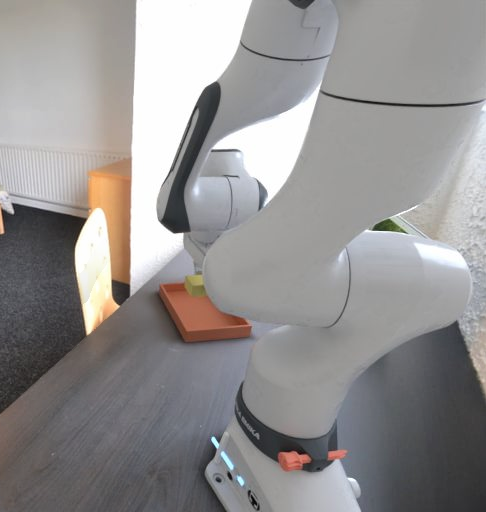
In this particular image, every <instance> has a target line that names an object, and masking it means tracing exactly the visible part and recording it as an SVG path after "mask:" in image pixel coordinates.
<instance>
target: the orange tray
mask: <svg viewBox="0 0 486 512" xmlns="http://www.w3.org/2000/svg"><path fill="white" fill-rule="evenodd" d="M158 295H159V297H160V298H161V301H163V303H164V306H165V307H166V309H167V311H168V313H169V315H170V317H171V318H172V320H173V322H174V325H175V326H176V328H177V329H178V331H179V334H180V335H181V337H182V339H183V340H184V342H185V343H194V342H195V343H196V342H205V341H216V340H218V341H219V340H227V339H228V340H229V339H240V338H250V337H251V333H252V329H253V325H252V324H251V322H250V321H249V320H248V319H244V318H240V317H237V316H233V315H230V314H226V313H223V312H220V311H219V310H218V309H217V308H216V307H215V306H214V304H213V303H212V302H211V300H210V299H209V297H208V296H201V297H191V296H190V294H189V293H188V291H187V290H186V288H185V281H179V282H178V281H177V282H165V283H159V287H158Z"/></svg>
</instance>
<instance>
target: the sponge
mask: <svg viewBox="0 0 486 512" xmlns="http://www.w3.org/2000/svg"><path fill="white" fill-rule="evenodd" d="M184 282H185V288H186V290H187V291H188V293H189V294H190V296H191V297H201V296H208V295H207V293H206V291H205V290H204V284H203V278H202V275H194V274H193V275H192V274H191V275H190V274H189V275H185V279H184Z"/></svg>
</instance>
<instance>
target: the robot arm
mask: <svg viewBox="0 0 486 512" xmlns="http://www.w3.org/2000/svg"><path fill="white" fill-rule="evenodd" d="M318 88H319V89H318ZM317 89H318V93H317V96H316V101H315V103H314V107H313V110H312V114H311V116H310V120H309V123H308V126H307V129H306V132H305V135H304V138H303V141H302V144H301V147H300V148H299V151H298V155H297V157H296V160H295V162H294V165H293V167H292V169H291V172H290V173H289V174H288V176H287V178H286V179H285V181H284V183H283V184H282V186H281V187H280V188H279V189H278V191H277V192H275V194H274V195H273V196H272V198H271V199H270V200H269V193H268V189H266V187H265V186H264V184H263V183H262V182H261V181H260V180H259V179H258V178H256V177H254V176H251V174H250V173H249V172H248V170H247V168H246V167H245V154H244V152H243V150H240V149H237V148H219V149H218V148H214V147H215V146H216V145H218V143H220V141H222V140H224V139H225V138H227V137H228V136H230V135H232V134H234V133H237V132H239V131H242V130H243V129H246V128H249V127H252V126H254V125H255V126H256V125H258V124H261V123H264V122H268V121H272V120H275V119H278V118H280V117H283V116H284V115H286V114H288V113H291V112H292V111H294V110H295V109H297V108H299V107H300V106H301V105H303V104H304V103H305V102H307V101H308V100H309V99H310V98H311V96H312V95H313V94H314V93H315V92H316V90H317ZM485 103H486V0H251V3H250V5H249V8H248V10H247V14H246V18H245V20H244V23H243V27H242V31H241V35H240V39H239V42H238V45H237V48H236V50H235V53H234V55H233V57H232V58H231V60H230V62H229V64H228V65H227V66H226V68H225V69H224V71H223V72H222V73H221V74H220V75H219V77H218V78H217V79H216V80H215V81H213V82H211V83H209V84H208V85H206V86H205V87H204V88H203V90H202V91H201V93H200V95H199V96H198V97H197V101H196V102H195V105H194V107H193V109H192V112H191V114H190V116H189V119H188V122H187V124H186V127H185V129H184V131H183V133H182V136H181V139H180V142H179V145H178V147H177V149H176V152H175V154H174V155H175V156H174V158H173V161H172V163H171V166H170V168H169V171H168V173H167V175H166V177H165V179H164V181H162V184H161V186H160V188H159V192H158V194H157V198H156V203H155V204H156V205H155V209H156V216H157V217H156V218H157V221H158V222H159V223H160V224H161V226H162V227H164V228H165V229H166V230H167V231H169V232H170V233H172V234H174V235H177V234H182V244H183V245H182V246H183V249H184V251H186V253H187V254H188V255H189V256H190V258H191V259H192V263H193V269H194V274H193V275H202V278H203V284H204V290H205V291H206V293H207V295H208V297H209V299H210V300H211V302H212V303H213V304H214V306H215V307H216V308H217V309H218V310H219V311H220V312H223V313H226V314H230V315H233V316H237V317H240V318H244V319H247V320H248V321H253V322H256V323H261V324H271V325H281V326H278V327H275V328H272V329H270V330H268V331H267V332H265V333H264V334H261V336H259V337H258V339H256V341H255V342H254V344H253V345H252V347H251V349H250V351H249V355H248V361H247V364H246V365H247V366H246V370H245V374H244V378H243V380H242V381H241V383H240V385H239V387H238V390H237V391H236V395H235V401H234V414H233V416H232V417H231V420H230V421H229V423H228V425H227V427H226V428H225V430H224V432H223V433H222V437H221V439H220V441H219V442H218V441H217V439H216V437H215V436H212V437H211V443H212V444H213V445H214V446H215V448H216V450H215V454H214V457H213V458H212V460H210V461H209V463H208V464H207V466H206V468H205V470H204V477H205V479H206V480H207V482H208V485H209V486H210V487H211V489H212V490H213V492H214V493H215V496H216V498H218V500H219V502H220V504H221V505H222V506H223V508H224V510H225V511H226V512H362V509H361V507H360V505H359V502H358V500H357V499H359V498H360V497H361V495H362V492H361V491H362V490H361V487H360V484H359V483H358V481H357V480H356V479H355V478H353V477H348V476H347V473H346V471H345V468H344V466H343V464H342V462H341V459H344V458H346V454H347V453H348V450H347V449H339V450H338V448H339V447H338V445H339V444H338V424H337V423H338V420H337V417H338V413H339V412H340V410H341V407H342V405H343V403H344V401H345V399H346V397H347V395H348V393H349V390H350V389H351V387H352V386H353V384H354V383H355V381H356V380H357V379H358V378H359V377H360V376H361V375H362V374H363V373H364V372H365V371H366V370H367V369H368V368H370V367H371V366H372V365H373V364H374V363H376V362H377V361H379V360H380V359H381V358H382V357H384V356H385V355H386V354H388V353H389V352H391V351H393V350H395V349H397V348H398V347H399V346H401V345H403V344H405V343H407V342H409V341H411V340H412V339H413V340H414V339H415V338H417V337H420V336H422V335H425V334H428V333H431V332H434V331H437V330H441V329H444V328H446V327H449V326H451V325H452V324H454V323H455V322H456V321H457V320H459V318H460V317H462V315H463V314H464V313H465V312H466V310H467V308H468V307H469V304H470V302H471V300H472V296H473V290H474V281H473V276H472V272H471V269H470V267H469V265H468V263H467V261H466V260H465V258H464V257H463V255H462V254H461V253H460V252H459V251H458V250H457V249H456V248H454V247H453V246H452V245H450V244H448V243H446V242H443V241H439V240H435V239H431V238H426V237H424V236H417V235H413V234H408V233H404V232H398V231H385V230H384V231H382V230H381V231H379V230H369V229H370V228H372V227H373V226H375V225H377V224H379V223H382V222H383V221H385V220H388V219H391V218H393V217H396V216H399V215H402V214H404V213H406V212H409V211H411V210H413V209H415V208H417V207H419V206H421V205H422V204H424V203H425V202H426V201H428V200H429V199H430V198H432V196H434V195H435V194H436V193H437V191H439V189H440V188H441V187H442V186H443V184H444V182H445V180H446V178H447V176H448V174H449V172H450V171H451V168H452V167H453V164H454V163H455V161H456V159H457V157H458V155H459V153H460V151H461V150H462V148H463V145H464V143H465V142H466V140H467V139H468V136H469V135H470V132H471V131H472V129H473V126H474V124H475V122H476V121H477V119H478V117H479V115H480V114H481V111H482V109H483V107H484V105H485ZM268 200H269V201H268Z"/></svg>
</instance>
